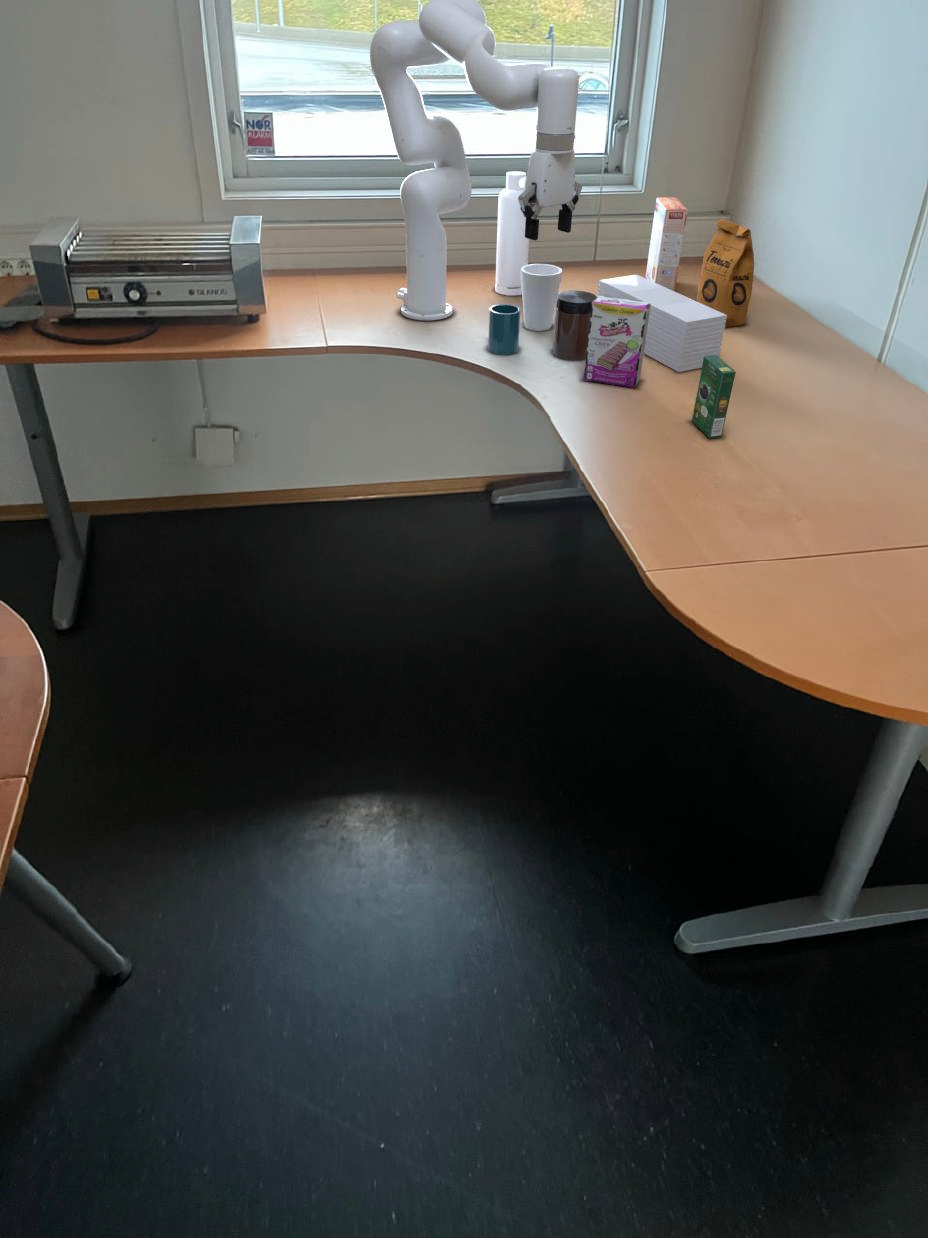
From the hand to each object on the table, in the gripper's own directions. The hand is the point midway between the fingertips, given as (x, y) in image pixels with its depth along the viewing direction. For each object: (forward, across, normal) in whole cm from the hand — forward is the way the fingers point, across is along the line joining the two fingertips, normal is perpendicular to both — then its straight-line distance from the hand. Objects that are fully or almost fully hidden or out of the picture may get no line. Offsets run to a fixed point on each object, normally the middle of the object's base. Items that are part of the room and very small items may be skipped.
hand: (547, 234), depth 188 cm
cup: (+25, +5, -7) cm, 26 cm away
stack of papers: (+25, -24, +13) cm, 37 cm away
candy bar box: (+25, 0, +21) cm, 33 cm away
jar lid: (+13, -5, +5) cm, 15 cm away
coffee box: (+25, +5, +48) cm, 54 cm away
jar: (+25, -5, +5) cm, 26 cm away
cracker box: (+25, -60, -14) cm, 66 cm away
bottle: (+25, -27, -36) cm, 52 cm away
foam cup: (+25, -12, -13) cm, 31 cm away
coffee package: (+25, -50, +12) cm, 57 cm away
